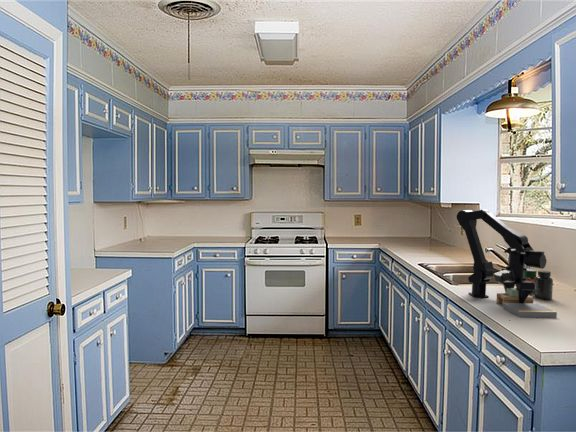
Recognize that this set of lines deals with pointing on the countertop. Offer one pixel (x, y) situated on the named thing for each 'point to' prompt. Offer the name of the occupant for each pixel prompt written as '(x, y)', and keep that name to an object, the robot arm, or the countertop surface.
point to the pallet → (511, 298)
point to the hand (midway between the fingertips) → (514, 301)
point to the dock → (529, 310)
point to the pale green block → (512, 292)
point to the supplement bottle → (544, 285)
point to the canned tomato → (530, 276)
